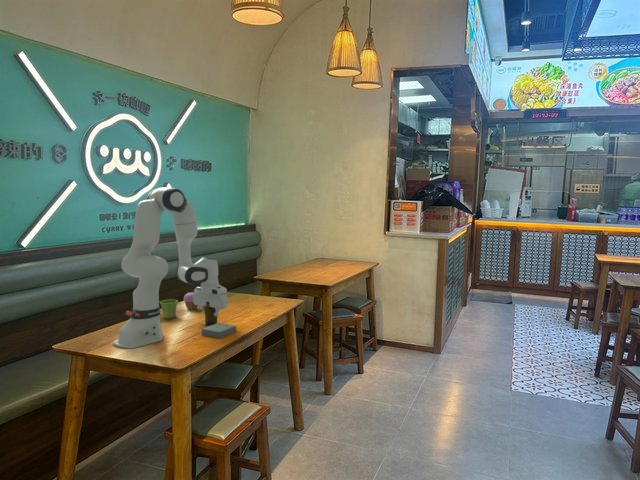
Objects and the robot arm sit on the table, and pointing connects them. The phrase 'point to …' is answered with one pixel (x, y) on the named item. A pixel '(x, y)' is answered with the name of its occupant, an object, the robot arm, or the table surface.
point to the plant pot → (169, 308)
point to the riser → (219, 330)
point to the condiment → (210, 315)
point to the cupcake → (190, 301)
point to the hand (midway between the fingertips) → (210, 315)
